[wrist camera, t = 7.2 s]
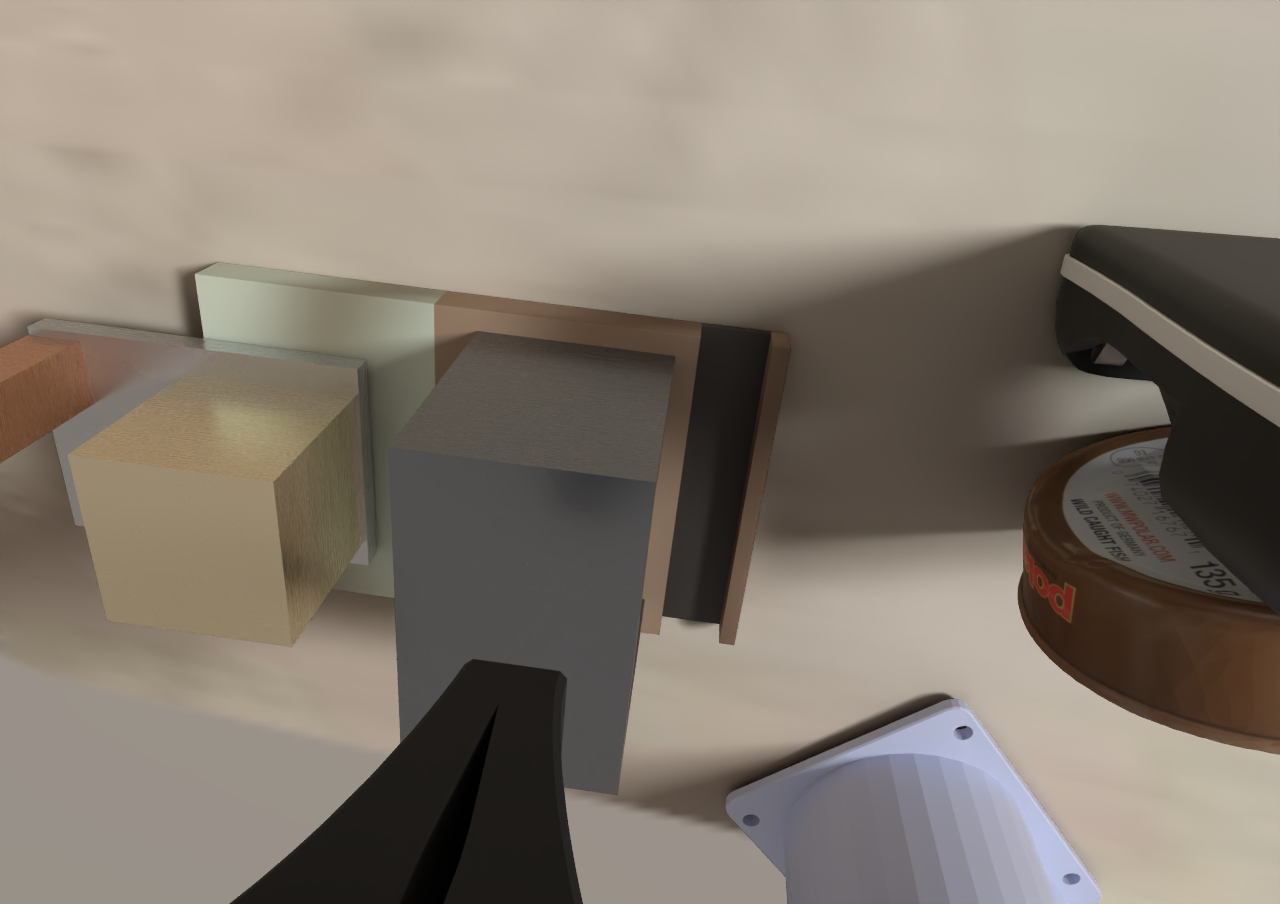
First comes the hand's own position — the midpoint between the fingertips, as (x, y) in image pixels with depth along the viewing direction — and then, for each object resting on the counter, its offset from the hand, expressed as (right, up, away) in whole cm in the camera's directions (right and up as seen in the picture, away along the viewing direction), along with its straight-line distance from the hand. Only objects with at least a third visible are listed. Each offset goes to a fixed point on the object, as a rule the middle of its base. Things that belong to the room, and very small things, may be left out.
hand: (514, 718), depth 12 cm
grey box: (0, +3, +9) cm, 10 cm away
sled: (-9, +4, +9) cm, 13 cm away
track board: (-2, +4, +10) cm, 11 cm away
